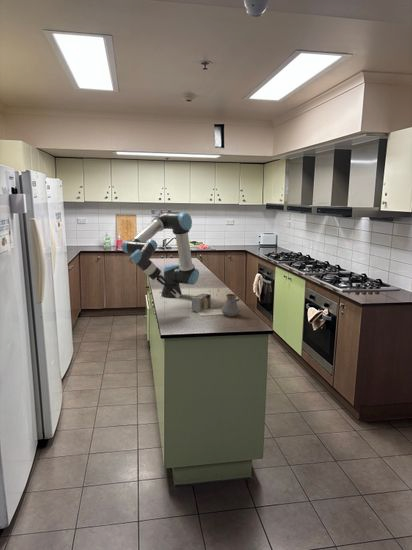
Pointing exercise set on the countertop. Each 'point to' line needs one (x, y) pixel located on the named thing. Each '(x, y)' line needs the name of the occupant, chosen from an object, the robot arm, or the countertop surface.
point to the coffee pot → (231, 306)
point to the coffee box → (201, 302)
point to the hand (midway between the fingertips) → (178, 296)
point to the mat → (211, 312)
